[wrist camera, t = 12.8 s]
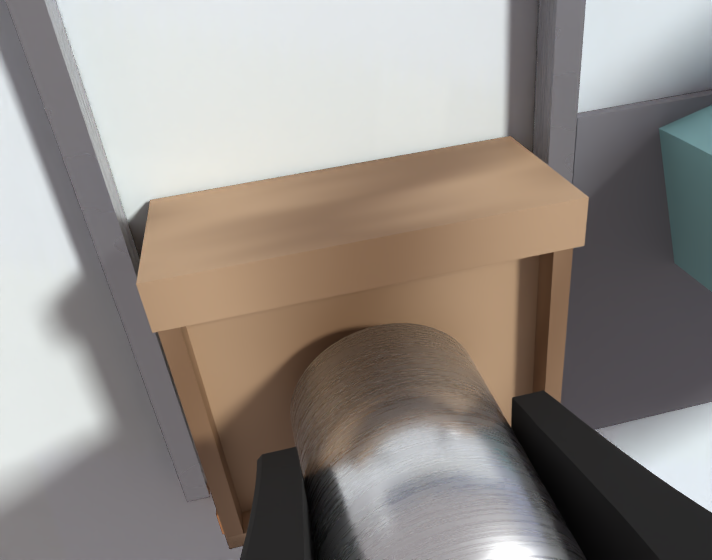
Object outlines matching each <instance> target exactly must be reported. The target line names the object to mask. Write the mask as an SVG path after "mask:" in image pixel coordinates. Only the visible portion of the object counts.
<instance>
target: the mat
mask: <svg viewBox="0 0 712 560" xmlns="http://www.w3.org/2000/svg"><path fill="white" fill-rule="evenodd" d="M710 105H712V90H707V91H701V92H696V93H690V94H684V95H679V96H673V97H667V98H661V99H656V100H650V101H644V102H639V103H633V104H627V105H622V106H616V107H610V108H605V109H599V110H593V111H587V112H582V113H577V124H576V137H575V151H574V164H573V177H572V184H573V185H574V186H575V187H576V188H578V189H579V190H580V191H582V192H583V193H584V194H585V195H587V196H588V197H589V201H588V212H587V222H586V233H585V244H584V246H581V247H576V248H573V255H572V268H571V280H570V293H569V305H568V317H567V330H566V342H565V354H564V367H563V379H562V391H561V404H562V405H563V406H565V407H566V408H567V409H568V410H570V411H571V412H572V413H573V414H575V415H576V416H577V417H578V418H580V419H581V420H582V421H584V422H585V423H586V424H587V425H589V426H590V427H591V428H592V429H594V430H595V429H599V428H603V427H607V426H612V425H616V424H620V423H624V422H628V421H633V420H637V419H641V418H645V417H649V416H654V415H658V414H662V413H666V412H671V411H675V410H679V409H683V408H687V407H692V406H696V405H700V404H704V403H708V402H712V292H711V291H710V290H708V289H707V288H706V287H705V286H703V285H702V284H701V283H699V282H698V281H697V280H696V279H694V278H693V277H692V276H691V275H689V274H688V273H687V272H685V271H684V270H683V269H682V268H680V267H679V266H678V265H676V264H675V263H674V255H673V246H672V237H671V229H670V220H669V211H668V203H667V194H666V185H665V177H664V168H663V160H662V151H661V142H660V134H659V128H660V127H663V126H665V125H667V124H669V123H672V122H674V121H676V120H678V119H681V118H683V117H685V116H687V115H690V114H692V113H694V112H696V111H699V110H701V109H703V108H705V107H708V106H710Z"/></svg>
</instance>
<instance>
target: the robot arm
mask: <svg viewBox="0 0 712 560" xmlns="http://www.w3.org/2000/svg"><path fill="white" fill-rule="evenodd" d="M511 429H512V430H513V432H514V434H515V435H516V437H517V439H518V441H519V442H520V444H521V446H522V448H523V449H524V451H525V453H526V455H527V456H528V458H529V460H530V462H531V463H532V465H533V467H534V469H535V470H536V472H537V474H538V476H539V477H540V479H541V481H542V482H543V484H544V486H545V488H546V489H547V491H548V493H549V495H550V496H551V498H552V500H553V502H554V503H555V505H556V507H557V509H558V510H559V512H560V514H561V516H562V517H563V519H564V521H565V522H566V524H567V526H568V528H569V529H570V531H571V533H572V535H573V536H574V538H575V540H576V542H577V543H578V545H579V547H580V549H581V550H582V552H583V554H584V556H585V557H586V559H587V560H712V513H711V512H710V511H708V510H706V509H705V508H703V507H702V506H700V505H699V504H697V503H696V502H694V501H693V500H691V499H690V498H688V497H687V496H685V495H684V494H682V493H681V492H679V491H677V490H676V489H674V488H673V487H671V486H670V485H669V484H667V483H666V482H664V481H663V480H661V479H660V478H659V477H657V476H656V475H654V474H653V473H651V472H650V471H649V470H647V469H646V468H645V467H643V466H642V465H640V464H639V463H638V462H636V461H635V460H634V459H632V458H631V457H629V456H628V455H627V454H625V453H624V452H623V451H621V450H620V449H619V448H617V447H616V446H615V445H613V444H612V443H611V442H609V441H608V440H607V439H605V438H604V437H603V436H601V435H600V434H599V433H598V432H596V431H595V430H594V429H592V428H591V427H590V426H589V425H587V424H586V423H585V422H584V421H582V420H581V419H580V418H578V417H577V416H576V415H575V414H573V413H572V412H571V411H570V410H568V409H567V408H566V407H565V406H563V405H562V404H561V403H560V402H558V401H557V400H556V399H555V398H553V397H552V396H551V395H549V394H548V393H547V392H545V391H544V390H543V391H538V392H534V393H530V394H525V395H521V396H516V397H512V415H511ZM240 560H315V553H314V543H313V533H312V524H311V518H310V512H309V507H308V501H307V495H306V490H305V484H304V478H303V474H302V469H301V464H300V460H299V455H298V450H297V446H296V447H292V448H288V449H283V450H279V451H274V452H270V453H266V454H262V455H261V456H260V458H259V459H258V460H257V472H256V482H255V490H254V497H253V503H252V509H251V514H250V519H249V524H248V529H247V533H246V537H245V541H244V545H243V549H242V554H241V558H240Z"/></svg>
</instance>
